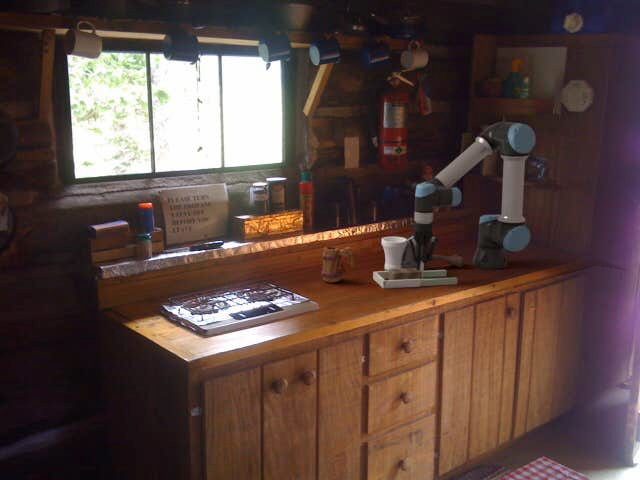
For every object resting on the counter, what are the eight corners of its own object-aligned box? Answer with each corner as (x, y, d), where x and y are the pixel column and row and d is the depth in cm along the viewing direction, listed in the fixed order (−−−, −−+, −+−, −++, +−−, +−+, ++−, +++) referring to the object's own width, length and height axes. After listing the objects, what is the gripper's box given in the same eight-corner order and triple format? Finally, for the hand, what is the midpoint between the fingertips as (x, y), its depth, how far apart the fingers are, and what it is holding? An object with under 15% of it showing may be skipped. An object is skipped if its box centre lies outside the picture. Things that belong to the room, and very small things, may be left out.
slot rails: (444, 275, 299) (445, 269, 298) (457, 284, 287) (457, 278, 286) (409, 277, 295) (409, 271, 295) (420, 286, 283) (420, 280, 283)
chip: (416, 279, 292) (416, 267, 291) (421, 283, 287) (421, 271, 286) (402, 280, 291) (402, 268, 290) (407, 284, 285) (407, 272, 284)
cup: (377, 268, 308) (378, 236, 305) (401, 266, 310) (402, 235, 307) (385, 275, 297) (386, 242, 294) (409, 274, 300) (411, 241, 297)
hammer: (464, 276, 308) (405, 271, 297) (452, 274, 317) (394, 270, 306) (467, 242, 308) (408, 237, 297) (454, 242, 318) (396, 237, 306)
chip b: (402, 280, 291) (402, 268, 290) (407, 284, 285) (407, 272, 284) (388, 280, 290) (389, 269, 289) (393, 285, 284) (393, 273, 283)
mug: (317, 282, 286) (317, 246, 282) (323, 277, 293) (324, 242, 290) (351, 286, 281) (352, 250, 277) (357, 281, 288) (358, 246, 285)
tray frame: (407, 276, 296) (408, 270, 295) (419, 286, 283) (420, 279, 282) (373, 278, 292) (373, 271, 292) (383, 288, 279) (383, 281, 278)
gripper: (434, 219, 289) (431, 274, 294) (405, 220, 286) (402, 275, 291) (441, 223, 282) (438, 279, 287) (411, 224, 279) (408, 280, 284)
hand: (420, 277), depth 289 cm, fingers closed
